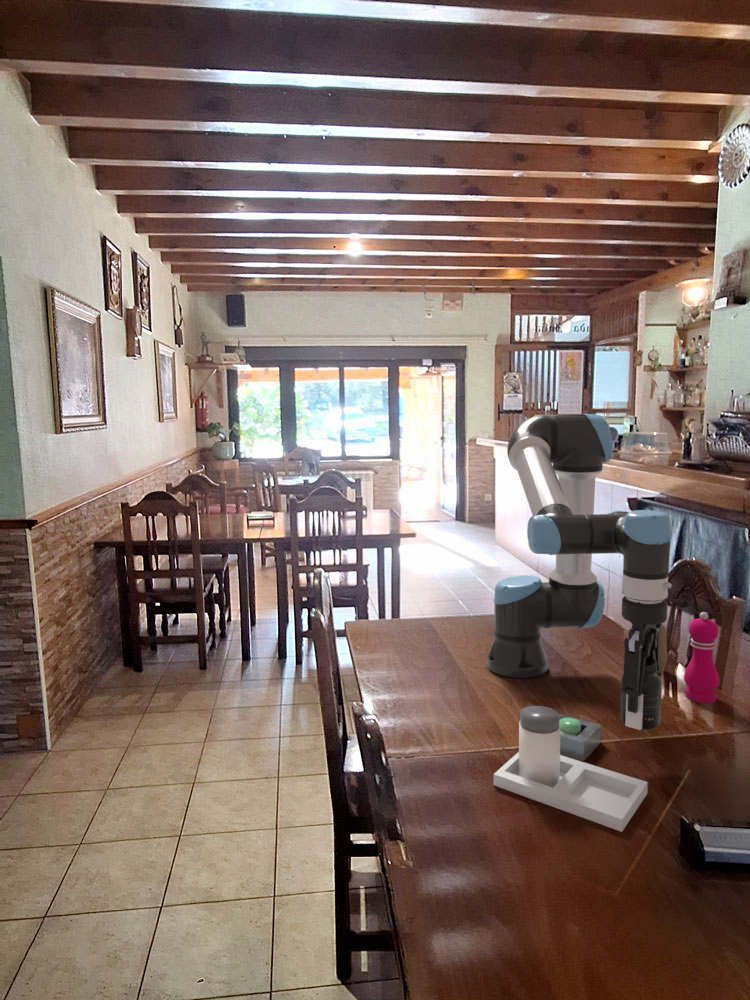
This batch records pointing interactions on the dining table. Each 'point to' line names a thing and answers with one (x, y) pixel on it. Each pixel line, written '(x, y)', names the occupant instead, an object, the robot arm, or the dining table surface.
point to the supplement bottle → (648, 696)
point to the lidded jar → (539, 745)
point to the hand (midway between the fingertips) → (640, 719)
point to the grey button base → (580, 740)
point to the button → (570, 726)
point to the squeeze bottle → (662, 648)
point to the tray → (580, 791)
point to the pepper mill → (702, 661)
